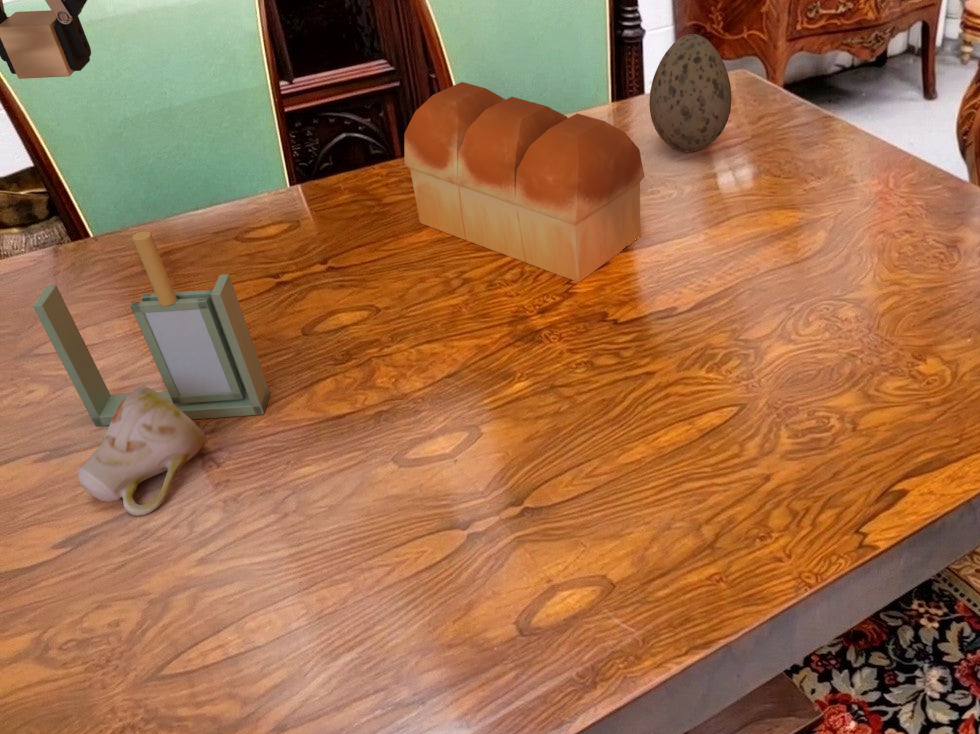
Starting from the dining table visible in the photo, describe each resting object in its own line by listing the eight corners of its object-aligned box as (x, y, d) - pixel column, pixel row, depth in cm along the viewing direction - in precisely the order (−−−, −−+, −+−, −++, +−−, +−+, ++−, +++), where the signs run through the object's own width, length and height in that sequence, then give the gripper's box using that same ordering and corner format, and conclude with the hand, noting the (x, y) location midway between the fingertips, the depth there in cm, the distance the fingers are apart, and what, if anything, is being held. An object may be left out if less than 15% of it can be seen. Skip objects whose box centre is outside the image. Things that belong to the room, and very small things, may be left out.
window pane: (172, 407, 84) (98, 241, 73) (176, 397, 85) (104, 233, 74) (242, 402, 85) (179, 237, 74) (245, 392, 86) (184, 228, 75)
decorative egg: (721, 169, 122) (727, 52, 113) (641, 161, 124) (640, 46, 115) (734, 135, 130) (741, 23, 120) (659, 129, 132) (659, 18, 122)
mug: (64, 500, 78) (61, 382, 76) (182, 485, 85) (183, 377, 83) (100, 524, 73) (97, 398, 71) (222, 506, 81) (223, 392, 79)
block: (18, 79, 83) (-5, 27, 80) (36, 61, 86) (15, 11, 83) (69, 76, 83) (49, 25, 80) (86, 59, 87) (66, 9, 84)
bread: (645, 237, 109) (643, 113, 100) (580, 284, 102) (571, 156, 92) (485, 183, 120) (470, 67, 110) (415, 223, 113) (392, 102, 103)
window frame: (95, 426, 85) (31, 305, 76) (106, 404, 87) (46, 284, 78) (264, 414, 86) (220, 294, 77) (270, 393, 88) (229, 273, 79)
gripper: (-189, -159, 69) (-65, 87, 81) (49, -166, 71) (136, 77, 83) (-137, -176, 75) (-29, 57, 87) (82, -181, 76) (159, 49, 88)
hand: (51, 65), depth 85 cm, fingers closed on block, 4 cm apart
